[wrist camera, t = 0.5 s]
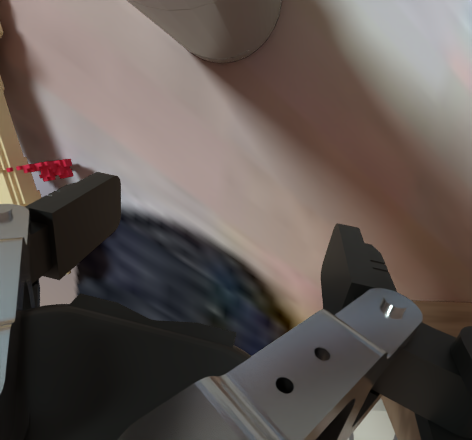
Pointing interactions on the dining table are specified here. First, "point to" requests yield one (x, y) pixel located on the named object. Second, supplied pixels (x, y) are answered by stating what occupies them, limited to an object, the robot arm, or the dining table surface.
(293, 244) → the dining table surface
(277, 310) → the dining table surface
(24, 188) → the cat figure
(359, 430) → the grey board
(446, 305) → the zigzag patterned tall block
